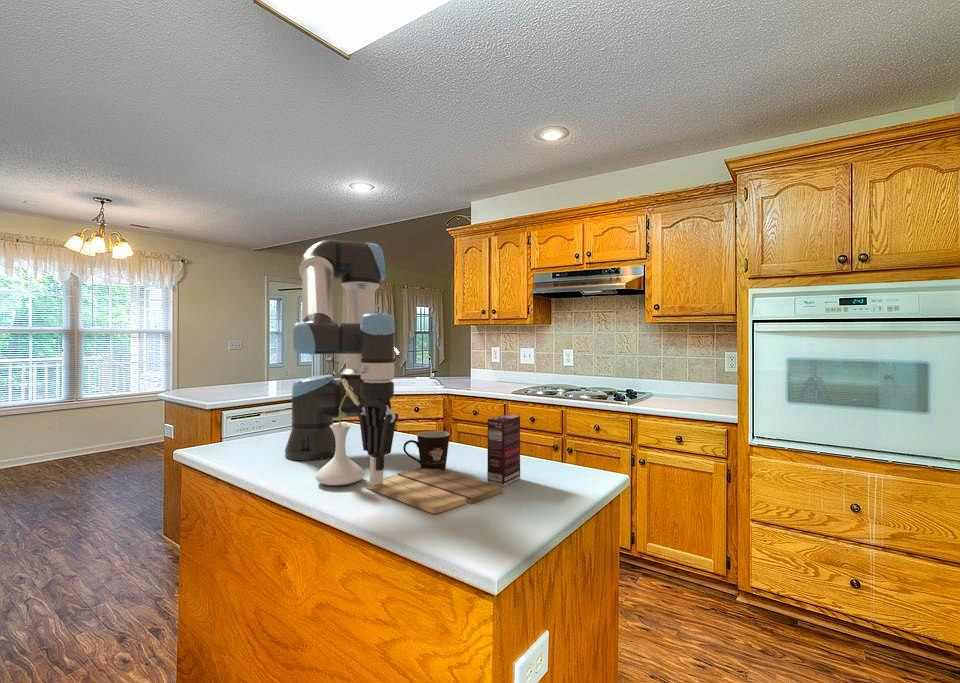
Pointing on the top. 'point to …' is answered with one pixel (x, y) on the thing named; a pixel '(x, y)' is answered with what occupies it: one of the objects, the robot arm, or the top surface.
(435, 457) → the coffee mug
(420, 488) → the plank
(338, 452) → the flower in vase
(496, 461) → the supplement box
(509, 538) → the top surface
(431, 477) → the laid strip
